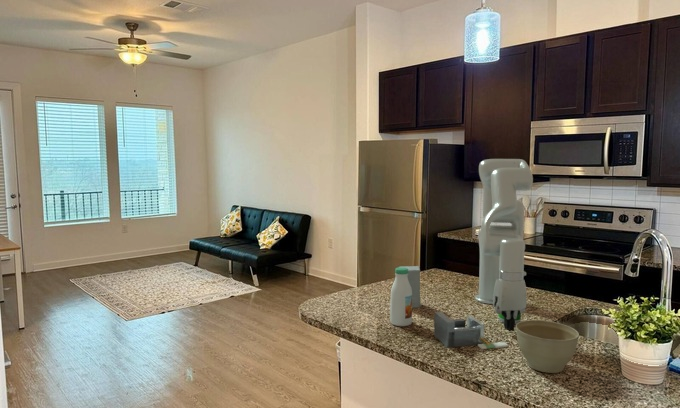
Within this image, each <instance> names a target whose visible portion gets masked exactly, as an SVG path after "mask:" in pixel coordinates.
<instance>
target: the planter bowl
mask: <svg viewBox="0 0 680 408" xmlns="http://www.w3.org/2000/svg"><path fill="white" fill-rule="evenodd" d="M515 330H516V340H517V344H518V347H519V349H520V352H521V354H522V356H523V357H524V358H525V361H526V364H527V366H528V367H530V368H531V369H533V370H536V371H538V372H543V373H549V374H558V373H561V372H563V371H564V369H565V366H566V365H567V364H568V363H570V361H571V360H572V358H573V357H574V355H575V353H576V350H577V347H578V340H579V338H580V334H579V331H578V330H576V328H573V327H571V326H569V325H565V324H563V323H559V322H554V321H551V320H541V319H540V320H538V319H527V320H521V321H520V322H518V323H517V324H515Z"/></svg>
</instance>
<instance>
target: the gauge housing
mask: <svg viewBox="0 0 680 408" xmlns="http://www.w3.org/2000/svg"><path fill="white" fill-rule="evenodd" d="M433 319H434V321H433V323H434V325H433V326H434V327H433V329H434V330H433V336H434V337H435V338H436V339H437V340H438V341H439V342H440V343H441V344H443V345H444V346H445V347H446V348H456V347H467V346H468V347H469V346H470V347H471V346H478V344H479V342H478V329H477V328H466V329H455V328H462V327H466V319H464V318H460V319H459V318H458V319H451V318H450V317H449V316H448V315H446V314H445V313H444V312H442V311H437V312H436V311H435V312H434V318H433Z"/></svg>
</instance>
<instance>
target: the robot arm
mask: <svg viewBox="0 0 680 408" xmlns="http://www.w3.org/2000/svg"><path fill="white" fill-rule="evenodd" d="M478 175H479V179H480V181H481V184H482V187H483V197H482V198H483V200H482V216H483V220H482V222H481V225H480V226H481V227H480V228H479V230H478V231H477V239H478V246H479V271H478V272H479V274H478V275H479V276H478V277H479V278H478V293H477V294H475V295H474V300H475V301H477V302H479V303H483V304H487V305H488V304H489V305H492V306H493V308H494V313H495V314H496V315H497V314H498V315H499V314H501V315H502V316H503V317H504V323H503V326H504V327H503V328H504V329H505V330H507V331H508V332H511V331H512V332H514V331H515V328H516V324H515V319H516V318H517V316H518V315H519V313H521V314H522V313H525V312H526V308H527V301H528V299H527V298H528V296H527V295H528V293H527V285H526V282H525V279H524V277H525V276H527V272H526V271H525V270H524V268H525V250H526V240H525V239H524V227H525V207H524V204H523V202H522V201H521V200H519V199H517V191H519V192H520V191H530V190H531V189H532V187H533V182H534V177H533V173H532V170H531V168H530V166H529V165H528V163H527V161H526V160H524V159H522V158H521V159H520V158H489V159H488V158H487V159H483V160H482V161H480V162H479V165H478ZM491 223H495V225H494V224H491ZM497 223H498V224H497ZM499 223H501V224H502V223H504V224H511V225H500V224H499ZM496 224H497V225H496Z"/></svg>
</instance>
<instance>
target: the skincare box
mask: <svg viewBox="0 0 680 408" xmlns="http://www.w3.org/2000/svg"><path fill="white" fill-rule="evenodd" d="M399 267H403V268H407V269H408V275H407V277H408V281H409V284H410V286H411V289H412V309H415V308H416V309H417V308H419V309H420V308H421V269H420V266H419V265H415V266H414V265H412V266H409V265H408V266H407V265H406V266H398V268H399Z"/></svg>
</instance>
